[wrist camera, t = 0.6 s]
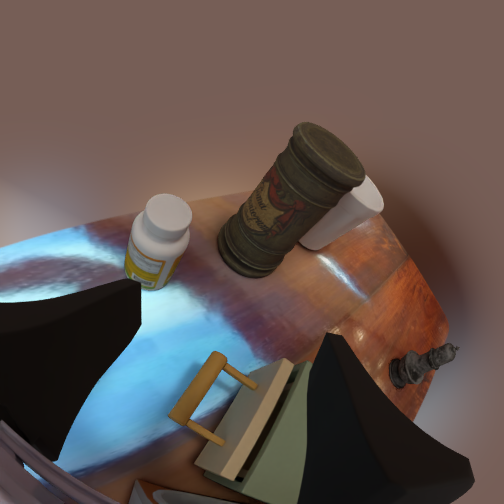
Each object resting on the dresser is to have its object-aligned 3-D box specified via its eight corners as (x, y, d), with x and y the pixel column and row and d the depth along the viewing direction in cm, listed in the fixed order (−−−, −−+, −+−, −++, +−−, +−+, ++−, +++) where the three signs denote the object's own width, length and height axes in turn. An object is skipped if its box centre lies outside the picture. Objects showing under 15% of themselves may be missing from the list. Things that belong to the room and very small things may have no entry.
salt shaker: (404, 358, 41) (461, 331, 33) (408, 389, 38) (469, 366, 29) (386, 356, 39) (448, 326, 31) (389, 390, 36) (456, 365, 27)
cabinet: (202, 475, 19) (241, 492, 13) (260, 377, 28) (307, 359, 22) (311, 517, 20) (365, 526, 14) (348, 431, 28) (399, 422, 23)
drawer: (146, 433, 19) (158, 439, 14) (211, 343, 27) (238, 322, 22) (301, 509, 19) (343, 518, 15) (337, 427, 27) (378, 420, 23)
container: (262, 222, 42) (338, 131, 29) (285, 275, 38) (382, 188, 25) (208, 221, 37) (280, 108, 24) (228, 282, 33) (327, 173, 20)
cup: (302, 206, 50) (348, 155, 41) (338, 249, 48) (391, 203, 39) (268, 219, 43) (320, 158, 34) (309, 271, 41) (372, 218, 32)
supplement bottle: (160, 244, 31) (186, 184, 24) (179, 284, 30) (211, 231, 23) (117, 253, 28) (130, 190, 21) (133, 297, 26) (150, 243, 19)
